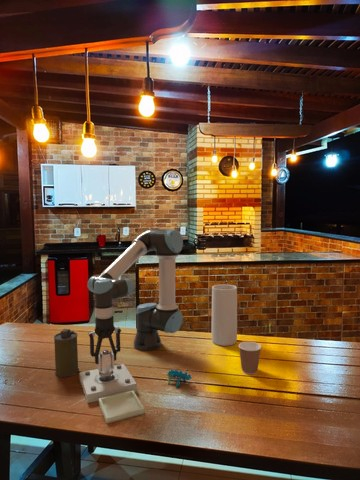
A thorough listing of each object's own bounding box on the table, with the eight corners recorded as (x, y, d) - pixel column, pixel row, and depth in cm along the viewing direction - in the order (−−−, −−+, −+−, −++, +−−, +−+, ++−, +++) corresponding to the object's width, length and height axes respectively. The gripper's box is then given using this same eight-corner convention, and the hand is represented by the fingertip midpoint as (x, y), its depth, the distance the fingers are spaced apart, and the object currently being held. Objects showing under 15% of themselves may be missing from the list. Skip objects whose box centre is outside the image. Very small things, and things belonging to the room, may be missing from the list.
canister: (71, 378, 153) (69, 334, 151) (50, 375, 155) (48, 333, 153) (83, 367, 164) (81, 326, 162) (63, 365, 166) (61, 325, 164)
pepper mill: (111, 377, 150) (110, 347, 149) (115, 383, 144) (114, 352, 143) (98, 380, 147) (96, 349, 146) (100, 387, 142) (99, 355, 141)
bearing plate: (123, 370, 159) (123, 362, 159) (136, 391, 141) (136, 381, 141) (79, 380, 151) (79, 370, 151) (87, 403, 133) (87, 392, 132)
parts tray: (133, 395, 139) (133, 390, 138) (144, 413, 126) (144, 408, 126) (98, 403, 133) (98, 398, 133) (106, 423, 120) (106, 418, 120)
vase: (238, 346, 186) (239, 289, 183) (212, 346, 187) (212, 290, 184) (234, 336, 201) (235, 284, 198) (210, 336, 201) (210, 284, 198)
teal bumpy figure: (195, 378, 149) (186, 369, 142) (192, 392, 145) (182, 383, 139) (173, 375, 154) (163, 367, 147) (170, 389, 150) (159, 380, 144)
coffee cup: (262, 368, 161) (263, 343, 160) (258, 377, 152) (258, 351, 151) (241, 364, 165) (241, 340, 164) (235, 373, 156) (235, 348, 155)
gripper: (122, 310, 150) (124, 361, 153) (80, 316, 143) (83, 370, 145) (127, 315, 143) (129, 368, 146) (83, 322, 136) (85, 377, 138)
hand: (106, 369), depth 145 cm, fingers closed on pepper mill, 5 cm apart
